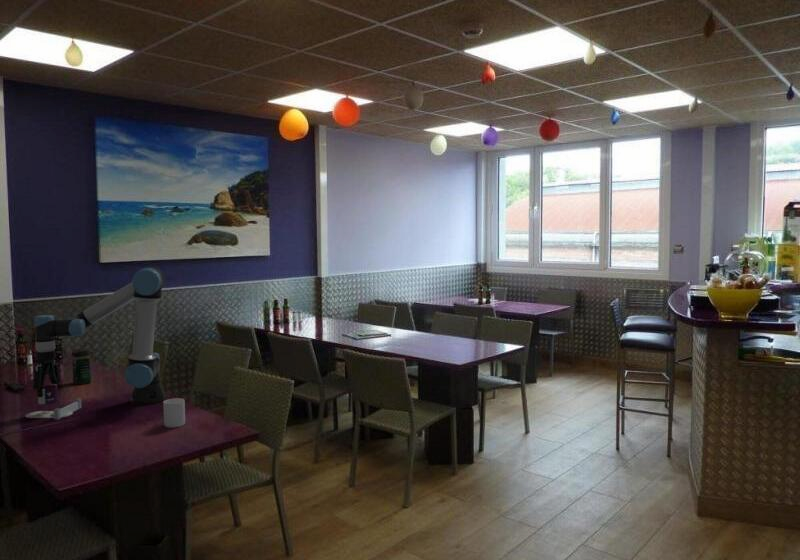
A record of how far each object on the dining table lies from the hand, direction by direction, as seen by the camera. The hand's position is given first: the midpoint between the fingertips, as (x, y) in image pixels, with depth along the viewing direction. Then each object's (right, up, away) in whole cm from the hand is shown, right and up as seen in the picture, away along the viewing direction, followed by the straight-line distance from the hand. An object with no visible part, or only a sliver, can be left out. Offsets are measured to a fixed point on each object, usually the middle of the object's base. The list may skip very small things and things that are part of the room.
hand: (48, 401), depth 264 cm
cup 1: (0, 0, +1) cm, 1 cm away
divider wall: (+8, -6, +2) cm, 10 cm away
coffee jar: (-15, -2, +57) cm, 59 cm away
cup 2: (+61, -7, -13) cm, 62 cm away
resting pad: (0, -6, +1) cm, 6 cm away
